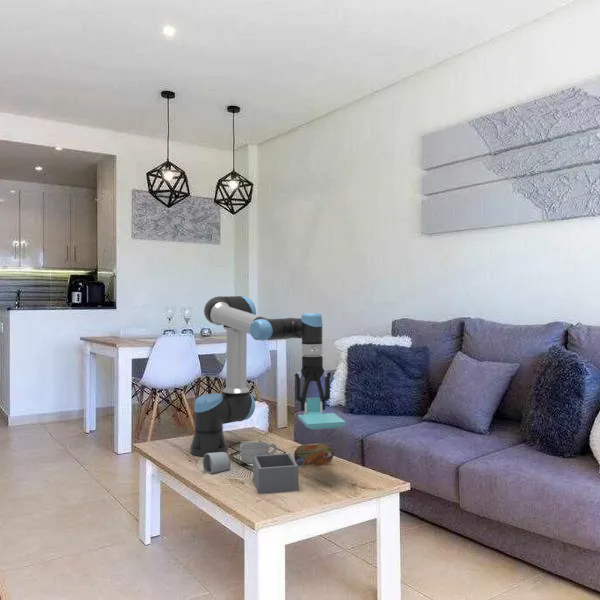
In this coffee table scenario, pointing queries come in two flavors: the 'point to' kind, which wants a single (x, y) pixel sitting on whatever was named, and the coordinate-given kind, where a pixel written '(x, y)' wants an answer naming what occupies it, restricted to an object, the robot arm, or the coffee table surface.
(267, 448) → the teacup
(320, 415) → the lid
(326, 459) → the tin
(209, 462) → the ceramic mug
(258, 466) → the tub
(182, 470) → the coffee table surface
